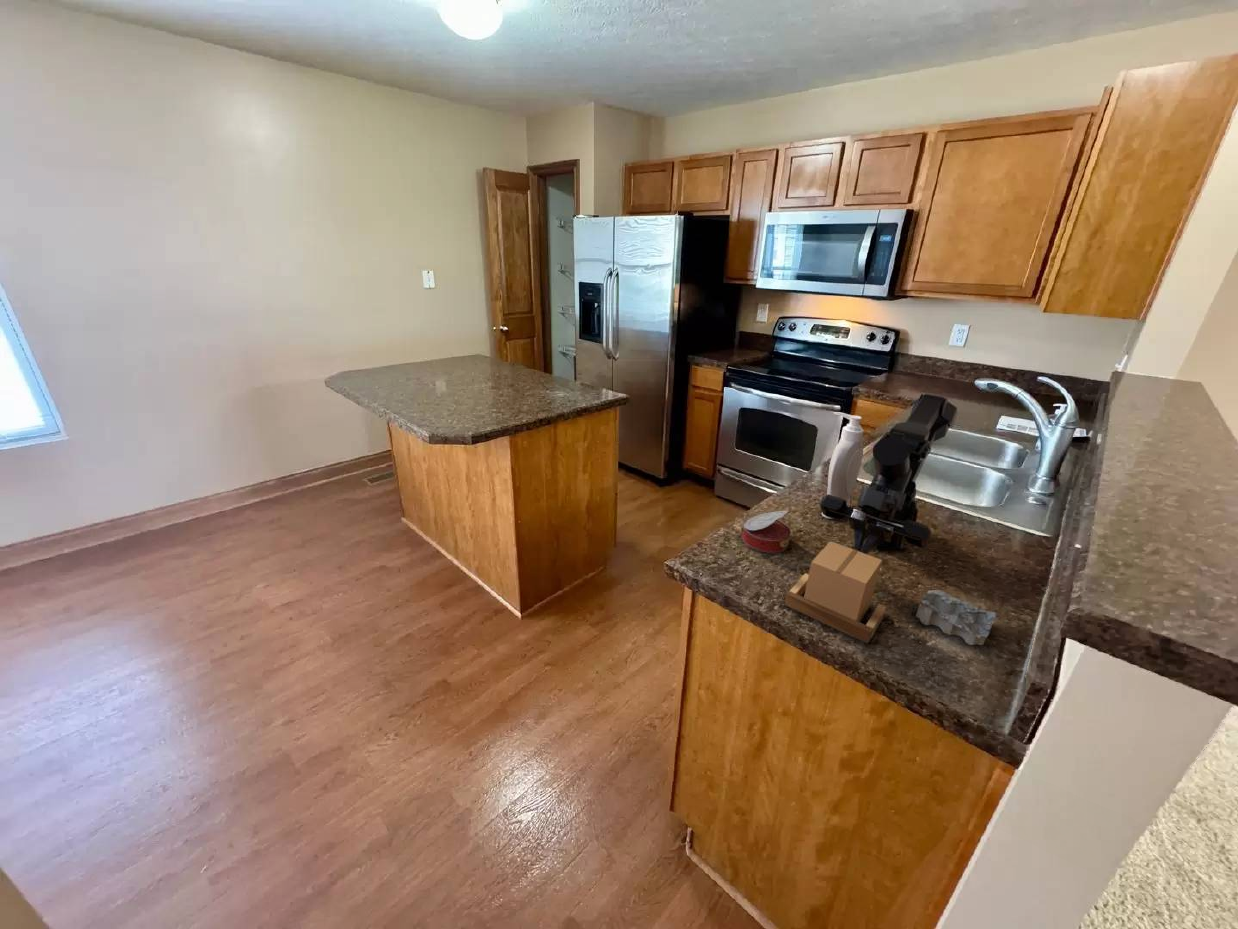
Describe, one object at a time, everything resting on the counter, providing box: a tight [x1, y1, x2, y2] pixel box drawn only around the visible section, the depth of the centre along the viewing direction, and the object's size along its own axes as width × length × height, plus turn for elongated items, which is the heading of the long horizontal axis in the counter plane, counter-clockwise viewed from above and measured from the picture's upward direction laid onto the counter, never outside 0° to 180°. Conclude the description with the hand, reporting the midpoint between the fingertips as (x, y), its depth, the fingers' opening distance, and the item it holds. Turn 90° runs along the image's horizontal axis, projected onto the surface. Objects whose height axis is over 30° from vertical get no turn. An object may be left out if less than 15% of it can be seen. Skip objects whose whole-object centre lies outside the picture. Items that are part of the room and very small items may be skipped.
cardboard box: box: [803, 541, 883, 623], centre depth 90 cm, size 9×9×10 cm
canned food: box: [741, 509, 791, 554], centre depth 111 cm, size 11×10×10 cm
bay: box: [784, 573, 887, 645], centre depth 90 cm, size 8×14×2 cm, turn 49°
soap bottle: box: [821, 411, 865, 520], centre depth 121 cm, size 13×8×24 cm, turn 133°
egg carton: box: [915, 589, 997, 646], centre depth 88 cm, size 11×8×4 cm
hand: (856, 561), depth 94 cm, fingers closed
